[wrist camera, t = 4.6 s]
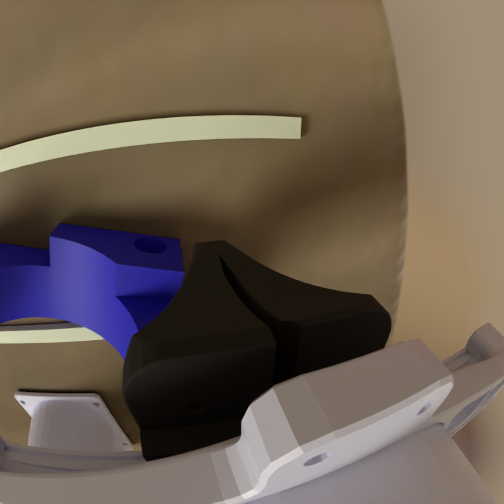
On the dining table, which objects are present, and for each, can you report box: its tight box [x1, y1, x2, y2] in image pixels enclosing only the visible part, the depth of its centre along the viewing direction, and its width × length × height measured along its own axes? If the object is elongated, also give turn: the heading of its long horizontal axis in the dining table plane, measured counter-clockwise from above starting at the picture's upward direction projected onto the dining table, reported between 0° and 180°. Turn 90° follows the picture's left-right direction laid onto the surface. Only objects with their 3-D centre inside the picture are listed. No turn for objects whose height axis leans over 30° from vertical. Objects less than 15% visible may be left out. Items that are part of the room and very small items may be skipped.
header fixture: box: [0, 115, 301, 343], centre depth 10 cm, size 11×24×5 cm, turn 89°
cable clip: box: [0, 223, 184, 359], centre depth 10 cm, size 12×4×6 cm, turn 74°
